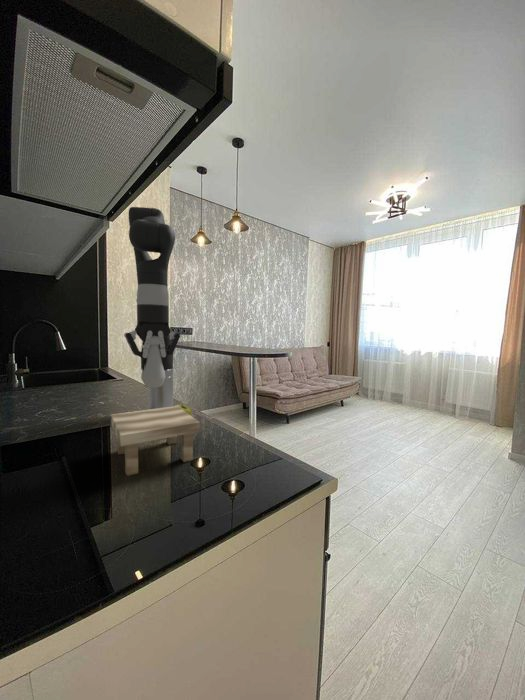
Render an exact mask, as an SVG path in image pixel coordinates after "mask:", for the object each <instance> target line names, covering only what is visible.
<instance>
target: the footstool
mask: <svg viewBox="0 0 525 700" xmlns="http://www.w3.org/2000/svg"><path fill="white" fill-rule="evenodd" d="M110 424H111V427H112V429H113V430H114V433H115V435H116V440H117V441H116V442H117V443H116V444H117V449H116V450H117V451H118V452H117V454H118V455H124V472H125V475H126V476H132V475H137V474H139V444H140V443H145V442H151V441H157V440H162V439H165V440H166V443H167V444H168V446H169V445H174V444H178V436H180V460H181V461H182V462H183V463H186V462H191V461H193V460H194V433H200V431H201V422H200V421H199V420H197V419H196V418H195V417H193V415H192V416H191V415H189V414H188V413H187V412H185V411H184V410H183V409H181V408H180V407H178V406H174V405H173V407H165V408H157V409H149V408H148V409H143V410H134V411H127V412H120V413H112V414H110Z"/></svg>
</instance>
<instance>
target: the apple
mask: <svg viewBox="0 0 525 700" xmlns="http://www.w3.org/2000/svg"><path fill="white" fill-rule="evenodd" d="M173 406H178V407H180V408H181V409H183V410H184V411H185V412H187V413H188V414H189V415H191V416H192V417H193V413H192V410H191V408H190V407H189V406H187V405H186V404H185V405H184V404H175V405H174V404H173Z"/></svg>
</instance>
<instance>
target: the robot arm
mask: <svg viewBox="0 0 525 700" xmlns="http://www.w3.org/2000/svg"><path fill="white" fill-rule="evenodd" d="M165 221H166V220H165V216H164V213H163V212H162V210H161V209H158V208H154V207H144V206H143V207H140V206H132V207H130V208H129V209H128V224H129V231H128V238H129V243H130V244H131V246H132V247H133V252H134V256H135V257H134V259H135V268H136V279H137V291H136V326H135V328H134V330H132V331H129V332H125V333H124V337H125V340H126V342H127V343H128V346H129V348H130V350H131V352H132V354H133V355H134V356H138V357H140V369H141V370H143V371H144V366H145V367H146V363H147V356H148V351H149V348H150V343H149V341H148V340H150V338H152V336H158V337H159V338H160V345H159V348H160V353H161V357H162V358H161V360H162V364H163V367H164V371H165V380H164V382H163V385H162V386H160V387H152V388H151V387H147V388H148V389H147V390H148V391H147V392H148V394H147V395H148V396H147V397H148V403H147V405H148V410H149V409H157V408H165V407H173V406H174V351H175V349H176V347H177V344H178V343H179V340H180V339H181V334H180V333H177V332H175V331H173V329H172V328H171V327H170V317H169V315H170V307H169V306H170V304H169V303H170V299H169V298H170V295H169V288H168V287H169V286H168V284H169V283H168V280H169V279H168V273H169V271H168V270H169V263H170V259H171V255H172V252H173V249H174V245H175V242H176V234H175V232H174V229H173V227H171V226H170V225H169V224H166V222H165ZM149 253H158V254H159V256H158V257H157V258H154V259H153V258H152V257H151V256H150V254H149ZM136 336H138V338H139V339H140V340H141V341H142V342H141V349H139V348H138V346H137V344H136V342H135V340H136V338H137V337H136ZM147 343H148V344H147Z"/></svg>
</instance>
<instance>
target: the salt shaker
mask: <svg viewBox="0 0 525 700" xmlns="http://www.w3.org/2000/svg"><path fill="white" fill-rule="evenodd" d="M148 341H149V343H150V348H149V351H148V356H147V363H146V367H145V366H144V371H143V370H142V369H141V370H142V371H141V376H140V378H141V381H142V382H143V384H144V386H145V388H148V387H151V388H152V387H160V386H162V385H163V382H164V380H165V371H164V367H163V364H162V360H161V358H162V357H161V353H160V348H159V345H160V338H159V337H158V336H152V338H150V340H148ZM147 344H148V343H147Z"/></svg>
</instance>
